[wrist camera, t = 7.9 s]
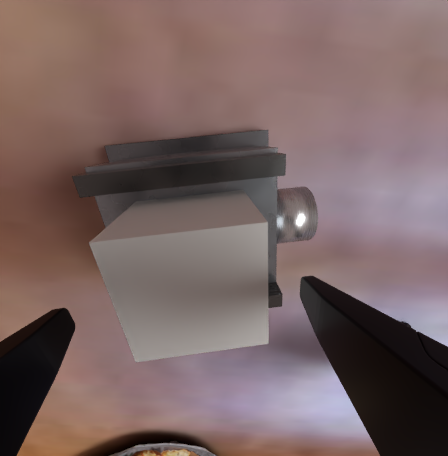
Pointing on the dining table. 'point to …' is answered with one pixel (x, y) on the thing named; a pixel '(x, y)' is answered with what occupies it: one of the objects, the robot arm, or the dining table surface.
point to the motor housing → (205, 183)
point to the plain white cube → (187, 274)
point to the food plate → (164, 450)
